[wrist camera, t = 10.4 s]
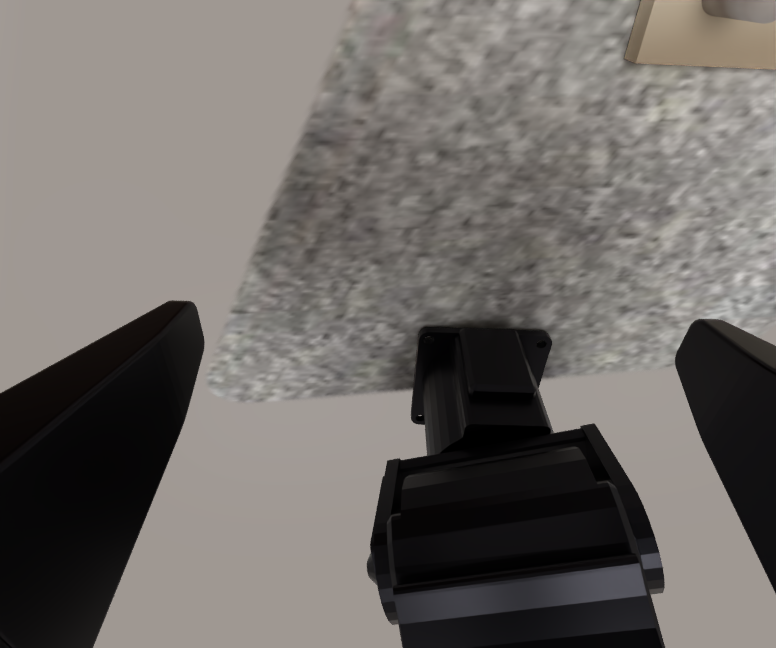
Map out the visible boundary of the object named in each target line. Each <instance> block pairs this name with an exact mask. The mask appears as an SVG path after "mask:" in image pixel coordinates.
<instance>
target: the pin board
mask: <svg viewBox="0 0 776 648" xmlns="http://www.w3.org/2000/svg"><path fill="white" fill-rule="evenodd" d="M624 59H626V60H629V61H631V62H634V63H639V64H662V65H685V66H708V67H730V68H753V69H776V0H641V2H640V6H639V9H638V13H637V16H636V19H635V23H634V26H633V30H632V33H631V37H630V40H629V44H628V47H627V51H626V54H625V57H624Z"/></svg>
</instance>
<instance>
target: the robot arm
mask: <svg viewBox="0 0 776 648" xmlns="http://www.w3.org/2000/svg"><path fill="white" fill-rule="evenodd" d="M427 336H431V337H433V338H431V339H425V337H427ZM540 340H544V341H543V342H542V343H537V342H538V341H540ZM551 345H552V340H551V338H550V336H549V334H548V333H547V332H544V331H527V330H511V329H482V328H440V327H426V328H423V329H422V330H421V331H420V332H419V334H418V343H417V354H416V365H415V375H414V386H413V396H412V407H411V420H412V421H413V422H414V423H416V424H422V425H425V432H426V446H427V456H423V457H417V458H412V459H406V460H400V459H393V460H389V461H387V466H386V471H385V476H383V479H382V484H381V489H380V495H379V500H378V506H377V511H376V516H375V522H374V527H373V532H372V537H371V544H370V546H371V547H370V548H371V554H370V556H369V558H368V561H367V572H368V576H369V577H370V579H371V580H372V581H373V582H375V584H376V585H377V586H378V591H379V595H380V599H381V603H382V606H383V609H384V612H385V615H386V617H387V619H388V621H389V622H390V623H391V624H392V625H395V624H399V629H400V635H401V641H402V647H403V648H665V646H664V642H663V638H662V635H661V631H660V627H659V624H658V620H657V616H656V613H655V609H654V606H653V602H652V598H651V595H650V594H657V593H663V590H664V574H663V567H662V563H661V558H660V554H659V550H658V547H657V543H656V540H655V536H654V533H653V530H652V528H651V525H650V522H649V519H648V516H647V514H646V511H645V509H644V506H643V504H642V502H641V500H640V498H639V496H638V493H637V492H636V490H635V488H634V486H633V485H632V483H631V481H630V480H629V478H628V476H627V475H626V473H625V472H624V470H623V468H622V467H621V465H620V463H619V462H618V460H617V459H616V457H615V455H614V454H613V452H612V451H611V449H610V447H609V446H608V444H607V443H606V441H605V440H604V438H603V436H602V435H601V433H600V431H599V430H598V428H597V427H596V425H595V424H589V425H583V426H581V428H580V429H574V430H569V431H563V432H557V433H553V430H552V427H551V424H550V421H549V418H548V415H547V412H546V410H545V406H544V404H543V401H542V398H541V395H540V392H539V389H538V388H539V385H540V381H541V378H542V375H543V372H544V368H545V365H546V362H547V358H548V355H549V352H550V349H551ZM203 351H204V336H203V331H202V328H201V323H200V319H199V315H198V311H197V307H196V306H195V304H194V303H193V302H191V301H168V302H166V303H165V304H162V305H161V306H159V307H157V308H155V309H153V310H152V311H150V312H148V313H146V314H144V315H142V316H141V317H139V318H137V319H135V320H133V321H132V322H130V323H128V324H126V325H124V326H122V327H120V328H119V329H117V330H115V331H113V332H111V333H110V334H108V335H106V336H104V337H102V338H100V339H99V340H97V341H95V342H93V343H91V344H89V345H88V346H86V347H84V348H82V349H80V350H78V351H77V352H75V353H73V354H71V355H69V356H67V357H66V358H64V359H62V360H60V361H58V362H57V363H55V364H53V365H51V366H49V367H47V368H46V369H44V370H42V371H41V372H38V373H37V374H35V375H33V376H31V377H29V378H27V379H26V380H24V381H22V382H20V383H18V384H16V385H15V386H13V387H11V388H9V389H7V390H5V391H4V392H2V393H0V648H93V646H94V644H95V641H96V639H97V636H98V634H99V631H100V629H101V626H102V624H103V622H104V619H105V617H106V614H107V612H108V609H109V607H110V604H111V602H112V599H113V597H114V594H115V592H116V589H117V587H118V585H119V582H120V580H121V577H122V575H123V572H124V569H125V567H126V565H127V562H128V560H129V557H130V555H131V553H132V550H133V548H134V545H135V542H136V540H137V538H138V535H139V533H140V530H141V528H142V525H143V523H144V521H145V518H146V516H147V513H148V511H149V508H150V506H151V503H152V501H153V498H154V496H155V494H156V491H157V489H158V486H159V484H160V481H161V479H162V476H163V474H164V471H165V469H166V466H167V464H168V462H169V459H170V456H171V454H172V451H173V449H174V447H175V444H176V442H177V439H178V437H179V434H180V432H181V429H182V426H183V424H184V421H185V417H186V414H187V411H188V407H189V403H190V400H191V396H192V393H193V389H194V385H195V381H196V378H197V374H198V370H199V366H200V362H201V359H202V355H203ZM675 365H676V369H677V372H678V375H679V377H680V380H681V383H682V386H683V389H684V391H685V395H686V397H687V400H688V403H689V406H690V409H691V412H692V414H693V417H694V420H695V423H696V426H697V428H698V431H699V434H700V436H701V438H702V441H703V443H704V445H705V448H706V450H707V452H708V454H709V456H710V458H711V460H712V462H713V464H714V466H715V468H716V470H717V473H718V475H719V477H720V479H721V481H722V483H723V485H724V487H725V489H726V491H727V493H728V495H729V497H730V499H731V502H732V504H733V506H734V508H735V510H736V512H737V514H738V516H739V518H740V520H741V522H742V525H743V527H744V529H745V531H746V533H747V535H748V537H749V539H750V541H751V543H752V545H753V547H754V549H755V552H756V554H757V555H758V558H759V560H760V562H761V564H762V566H763V568H764V570H765V572H766V574H767V576H768V578H769V581H770V582H771V585H772V587H773V589H774V591H775V593H776V346H775V345H773V344H770V343H768V342H766V341H764V340H762V339H760V338H758V337H756V336H754V335H752V334H750V333H748V332H746V331H744V330H742V329H740V328H737V327H735V326H733V325H731V324H729V323H727V322H725V321H723V320H718V319H698V320H696V321H694V322H693V323H692V324H691V326H690V327H689V329H688V331H687V333H686V335H685V337H684V339H683V341H682V343H681V345H680V347H679V349H678V351H677V353H676V357H675ZM418 415H422V416H418Z"/></svg>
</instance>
